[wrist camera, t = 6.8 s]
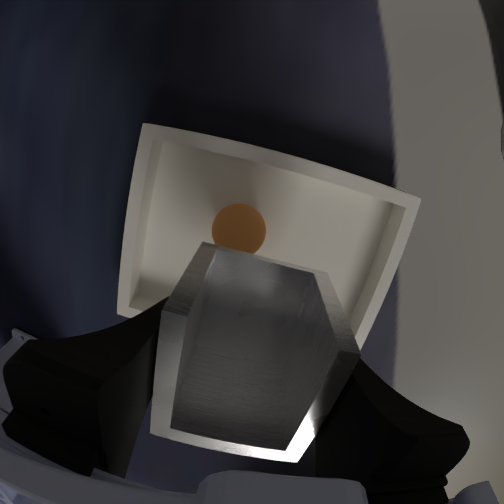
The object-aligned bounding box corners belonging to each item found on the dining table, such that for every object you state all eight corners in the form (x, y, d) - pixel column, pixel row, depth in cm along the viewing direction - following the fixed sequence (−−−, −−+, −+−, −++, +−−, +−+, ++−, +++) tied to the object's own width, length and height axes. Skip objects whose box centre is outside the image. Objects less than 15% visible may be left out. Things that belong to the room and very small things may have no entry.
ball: (239, 183, 18) (220, 213, 20) (211, 216, 16) (195, 245, 18) (283, 215, 18) (259, 242, 20) (261, 252, 16) (238, 277, 18)
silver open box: (183, 344, 16) (150, 433, 10) (202, 241, 14) (161, 309, 8) (289, 368, 16) (297, 462, 10) (327, 272, 14) (361, 354, 8)
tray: (130, 296, 22) (116, 313, 20) (157, 124, 18) (142, 122, 16) (343, 348, 23) (350, 369, 20) (404, 191, 19) (421, 198, 16)
